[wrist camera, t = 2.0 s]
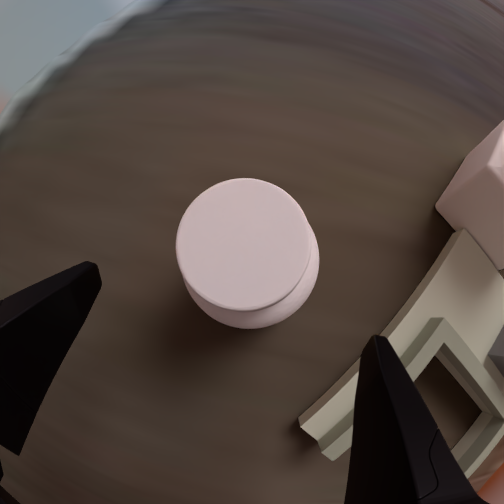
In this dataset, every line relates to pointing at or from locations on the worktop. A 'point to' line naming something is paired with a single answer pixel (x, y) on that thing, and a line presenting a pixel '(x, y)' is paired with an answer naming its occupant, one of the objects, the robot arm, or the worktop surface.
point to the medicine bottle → (479, 196)
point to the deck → (438, 350)
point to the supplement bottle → (247, 253)
